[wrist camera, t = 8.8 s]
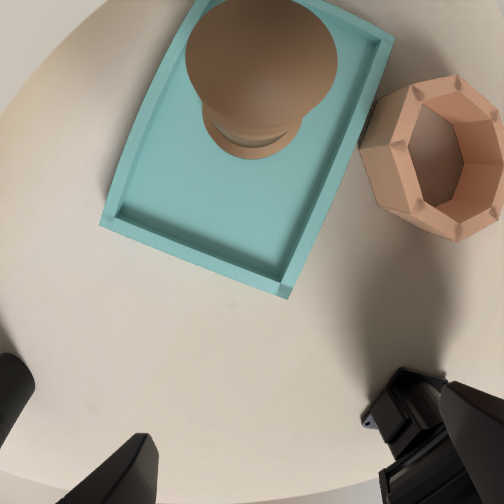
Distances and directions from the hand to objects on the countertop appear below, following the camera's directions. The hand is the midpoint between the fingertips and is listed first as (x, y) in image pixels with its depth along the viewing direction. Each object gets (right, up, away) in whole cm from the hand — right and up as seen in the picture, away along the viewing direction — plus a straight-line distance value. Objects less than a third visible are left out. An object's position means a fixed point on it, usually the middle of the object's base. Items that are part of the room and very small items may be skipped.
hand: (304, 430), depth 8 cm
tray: (-2, +13, +10) cm, 17 cm away
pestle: (-1, +13, +9) cm, 16 cm away
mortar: (+10, +12, +11) cm, 19 cm away
